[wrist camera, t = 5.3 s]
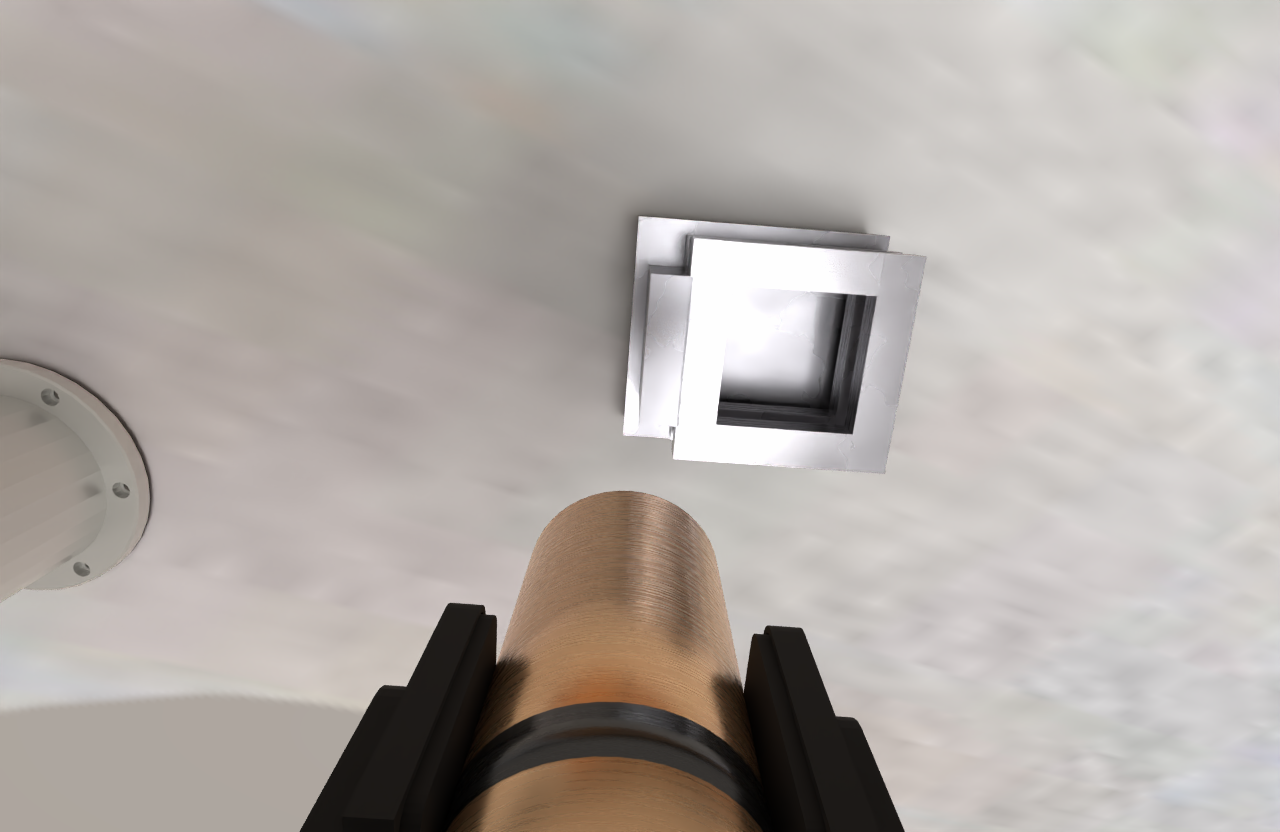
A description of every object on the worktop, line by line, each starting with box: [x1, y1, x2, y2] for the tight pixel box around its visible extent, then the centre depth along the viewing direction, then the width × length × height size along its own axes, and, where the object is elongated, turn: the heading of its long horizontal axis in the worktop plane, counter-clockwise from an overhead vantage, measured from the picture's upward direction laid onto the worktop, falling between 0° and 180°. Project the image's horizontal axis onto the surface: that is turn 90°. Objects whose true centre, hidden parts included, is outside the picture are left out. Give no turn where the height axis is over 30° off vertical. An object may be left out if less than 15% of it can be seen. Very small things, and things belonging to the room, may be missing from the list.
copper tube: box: [441, 491, 774, 832], centre depth 9 cm, size 4×4×11 cm
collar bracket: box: [623, 216, 926, 474], centre depth 30 cm, size 11×10×7 cm
